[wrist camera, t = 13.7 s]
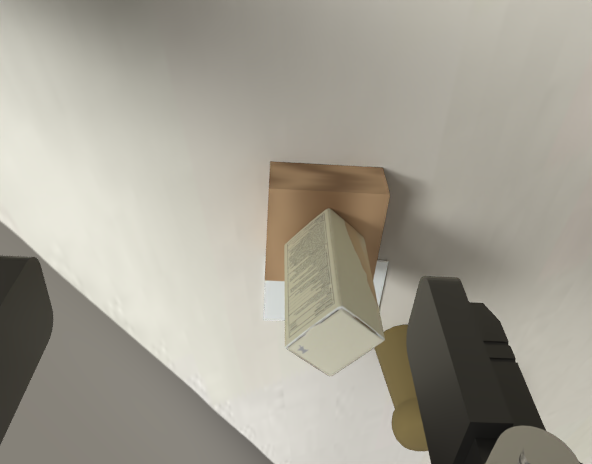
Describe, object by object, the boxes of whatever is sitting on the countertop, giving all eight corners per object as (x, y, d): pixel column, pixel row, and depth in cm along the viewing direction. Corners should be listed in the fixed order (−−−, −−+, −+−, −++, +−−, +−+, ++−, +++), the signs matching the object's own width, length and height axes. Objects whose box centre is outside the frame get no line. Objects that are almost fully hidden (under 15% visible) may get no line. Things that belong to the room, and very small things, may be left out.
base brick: (266, 250, 50) (264, 280, 46) (270, 161, 44) (268, 188, 41) (366, 255, 50) (372, 285, 47) (382, 167, 45) (390, 194, 41)
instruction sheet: (263, 318, 55) (263, 320, 54) (266, 255, 50) (266, 257, 50) (374, 323, 55) (375, 325, 55) (388, 260, 50) (388, 262, 50)
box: (319, 272, 46) (326, 381, 37) (282, 243, 44) (279, 350, 35) (368, 235, 44) (388, 342, 35) (330, 203, 42) (341, 307, 33)
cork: (383, 321, 55) (401, 417, 46) (442, 328, 56) (470, 424, 47) (368, 361, 58) (382, 458, 50) (423, 367, 59) (447, 464, 50)
